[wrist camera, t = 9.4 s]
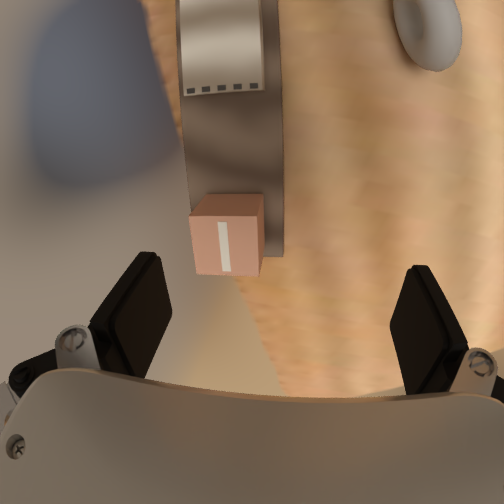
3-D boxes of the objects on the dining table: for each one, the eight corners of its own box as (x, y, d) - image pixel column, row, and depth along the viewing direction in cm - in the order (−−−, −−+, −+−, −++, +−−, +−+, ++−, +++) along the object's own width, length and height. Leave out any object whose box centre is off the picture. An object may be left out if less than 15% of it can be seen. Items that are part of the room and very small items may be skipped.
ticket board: (178, -45, 19) (164, -59, 15) (273, -57, 17) (270, -75, 14) (199, 250, 36) (189, 269, 33) (283, 252, 35) (281, 272, 31)
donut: (378, -12, 19) (411, -47, 10) (408, -10, 18) (448, -40, 9) (401, 73, 23) (445, 68, 15) (429, 74, 23) (481, 72, 14)
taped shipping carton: (206, 194, 31) (188, 216, 26) (263, 193, 30) (256, 216, 25) (211, 244, 34) (196, 274, 29) (264, 245, 33) (259, 277, 28)
